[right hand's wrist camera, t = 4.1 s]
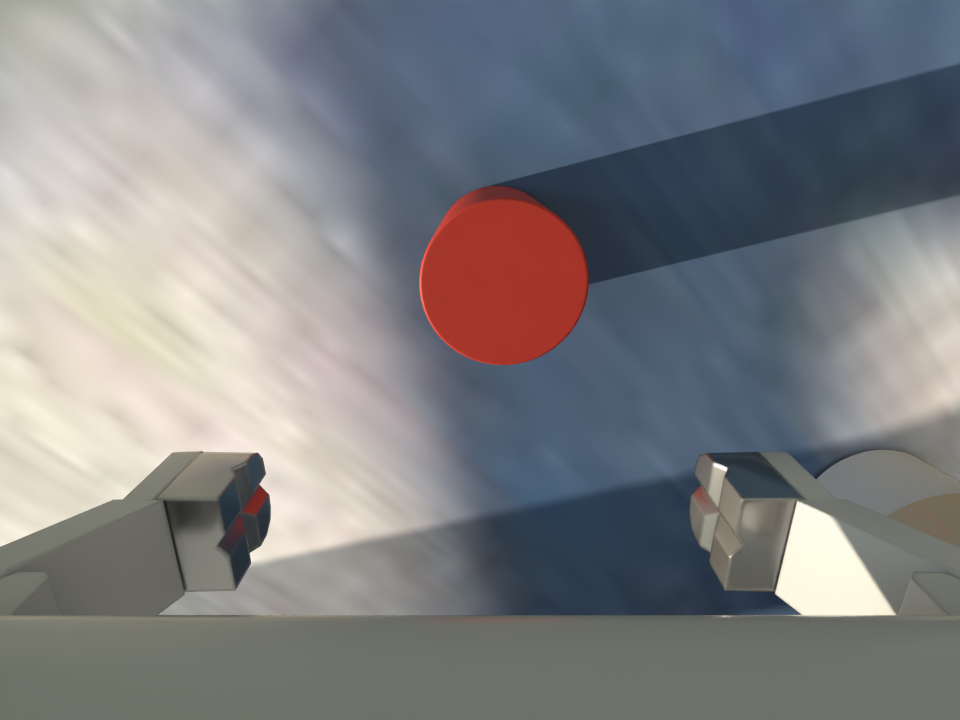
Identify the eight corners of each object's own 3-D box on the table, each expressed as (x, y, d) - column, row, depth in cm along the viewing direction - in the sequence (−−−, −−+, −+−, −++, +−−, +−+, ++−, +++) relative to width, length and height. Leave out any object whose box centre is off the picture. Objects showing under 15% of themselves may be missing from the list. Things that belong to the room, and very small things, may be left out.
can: (441, 179, 22) (425, 188, 15) (564, 192, 22) (603, 207, 15) (433, 299, 23) (414, 358, 16) (546, 310, 24) (574, 373, 17)
